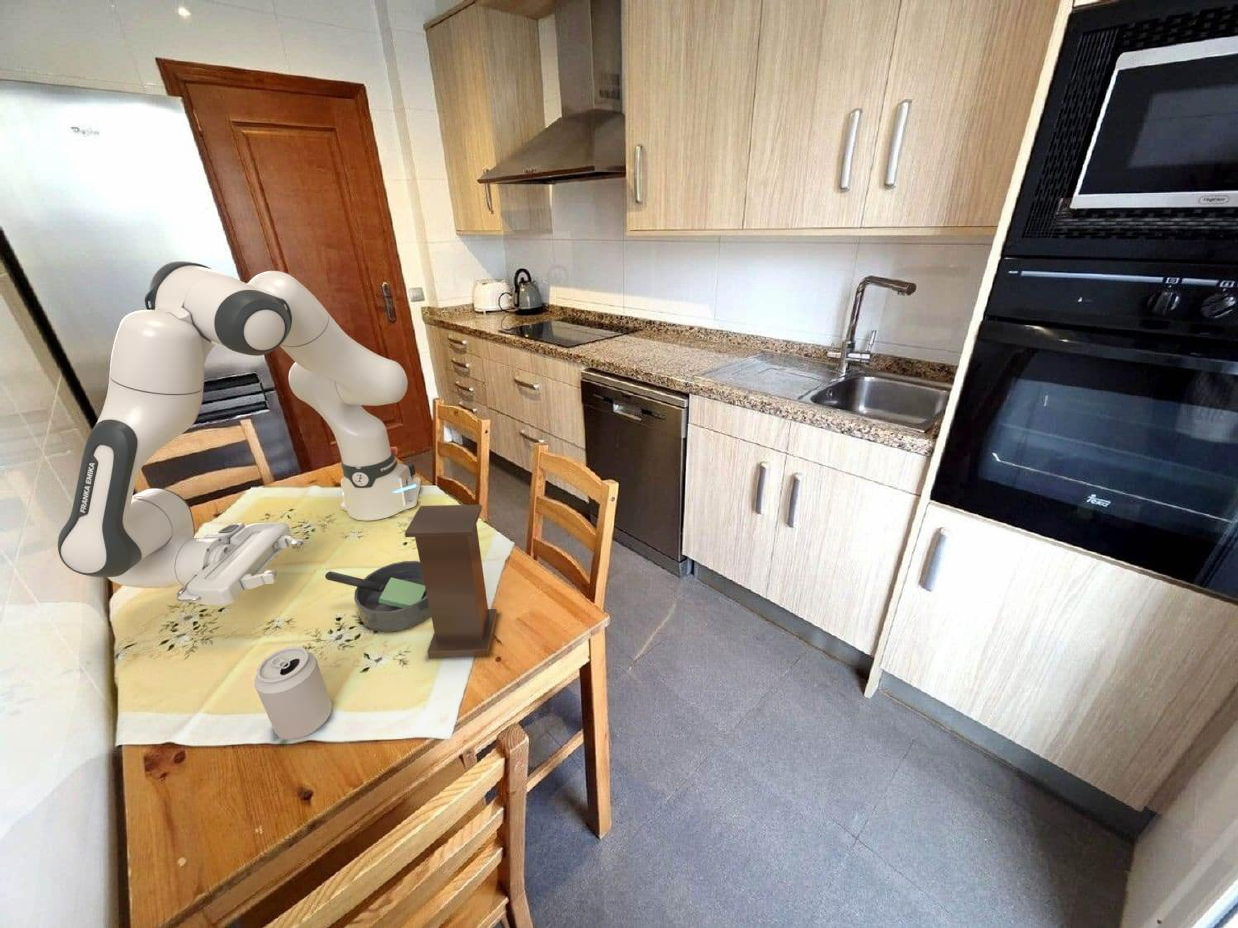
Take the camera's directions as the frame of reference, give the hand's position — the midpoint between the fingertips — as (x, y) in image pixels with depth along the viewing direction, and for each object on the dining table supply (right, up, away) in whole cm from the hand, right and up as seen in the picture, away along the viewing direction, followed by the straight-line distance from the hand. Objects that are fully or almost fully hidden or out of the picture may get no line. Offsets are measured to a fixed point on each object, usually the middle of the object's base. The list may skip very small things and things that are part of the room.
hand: (290, 560), depth 92 cm
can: (+13, -21, -17) cm, 30 cm away
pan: (+18, -10, +6) cm, 21 cm away
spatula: (+14, -6, +4) cm, 15 cm away
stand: (+33, -13, -2) cm, 35 cm away
